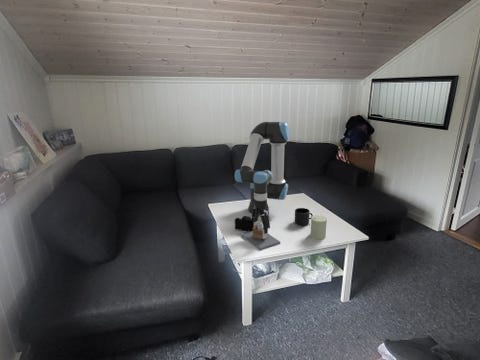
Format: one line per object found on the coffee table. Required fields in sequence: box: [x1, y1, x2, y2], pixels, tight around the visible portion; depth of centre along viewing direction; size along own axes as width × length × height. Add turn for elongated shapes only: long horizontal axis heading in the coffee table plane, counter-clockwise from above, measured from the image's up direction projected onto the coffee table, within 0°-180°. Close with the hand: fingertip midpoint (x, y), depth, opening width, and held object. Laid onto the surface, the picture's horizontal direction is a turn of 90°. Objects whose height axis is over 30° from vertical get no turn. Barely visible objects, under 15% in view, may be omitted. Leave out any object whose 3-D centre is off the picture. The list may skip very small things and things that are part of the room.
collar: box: [253, 223, 269, 239], centre depth 174 cm, size 8×8×5 cm
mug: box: [294, 207, 314, 227], centre depth 194 cm, size 9×12×9 cm
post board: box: [241, 221, 281, 251], centre depth 174 cm, size 20×14×11 cm
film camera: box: [234, 215, 254, 232], centre depth 189 cm, size 15×10×9 cm, turn 73°
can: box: [309, 214, 328, 240], centre depth 177 cm, size 9×9×12 cm
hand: (260, 234), depth 174 cm, fingers closed on collar, 8 cm apart
